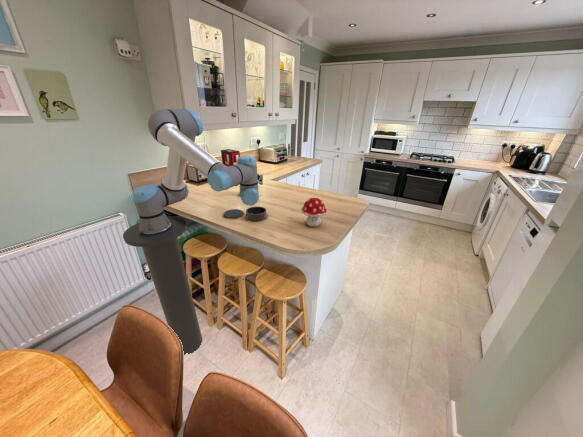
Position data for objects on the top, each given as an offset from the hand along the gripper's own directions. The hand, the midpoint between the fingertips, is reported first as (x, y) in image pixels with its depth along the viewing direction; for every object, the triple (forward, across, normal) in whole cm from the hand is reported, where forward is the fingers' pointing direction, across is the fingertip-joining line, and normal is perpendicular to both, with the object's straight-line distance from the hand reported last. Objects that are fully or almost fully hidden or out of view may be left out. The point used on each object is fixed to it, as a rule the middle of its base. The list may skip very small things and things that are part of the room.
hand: (247, 173), depth 128 cm
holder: (-6, +3, -24) cm, 25 cm away
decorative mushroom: (-21, +33, -24) cm, 46 cm away
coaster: (0, -10, -24) cm, 26 cm away
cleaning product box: (+98, -14, -24) cm, 102 cm away
